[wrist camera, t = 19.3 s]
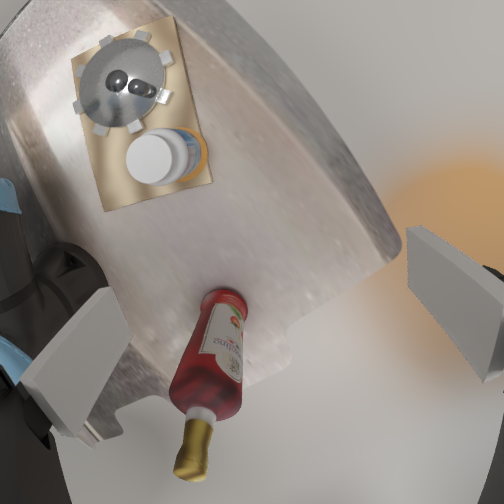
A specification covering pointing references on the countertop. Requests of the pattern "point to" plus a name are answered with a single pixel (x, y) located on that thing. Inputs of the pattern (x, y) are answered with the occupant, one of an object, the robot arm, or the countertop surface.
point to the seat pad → (202, 161)
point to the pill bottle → (163, 156)
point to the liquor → (209, 379)
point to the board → (162, 116)
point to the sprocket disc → (123, 83)
